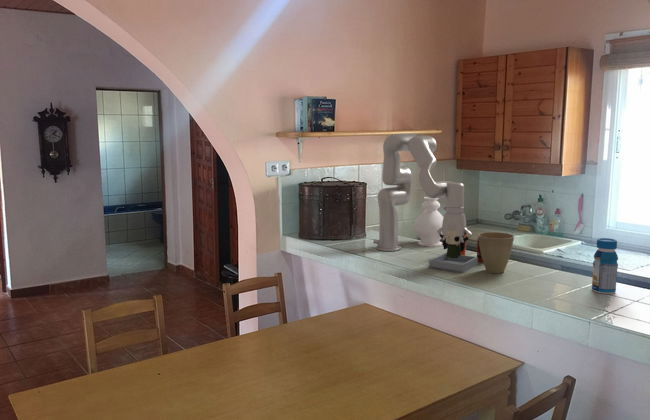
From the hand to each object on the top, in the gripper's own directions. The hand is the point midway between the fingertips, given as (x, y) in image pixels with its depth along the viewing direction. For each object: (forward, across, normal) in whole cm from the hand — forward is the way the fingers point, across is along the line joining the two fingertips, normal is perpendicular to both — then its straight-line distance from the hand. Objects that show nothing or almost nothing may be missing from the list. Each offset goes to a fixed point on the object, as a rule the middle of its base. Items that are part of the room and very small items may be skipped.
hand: (453, 249), depth 249 cm
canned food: (+8, +8, +18) cm, 21 cm away
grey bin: (+8, 0, 0) cm, 8 cm away
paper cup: (+8, -5, +18) cm, 20 cm away
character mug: (+4, 0, 0) cm, 4 cm away
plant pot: (+8, +18, +2) cm, 20 cm away
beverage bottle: (+8, +62, -4) cm, 63 cm away
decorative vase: (+8, -30, +39) cm, 50 cm away
